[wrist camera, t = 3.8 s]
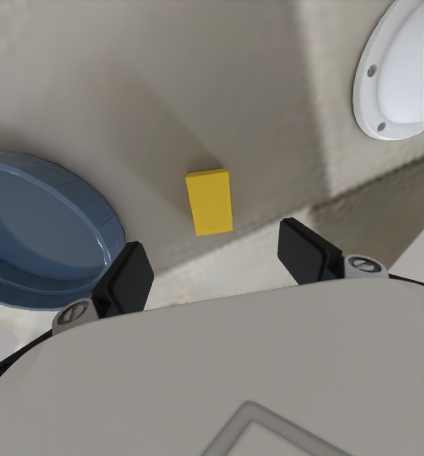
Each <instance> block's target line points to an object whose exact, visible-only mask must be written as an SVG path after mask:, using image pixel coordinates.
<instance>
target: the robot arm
mask: <svg viewBox="0 0 424 456" xmlns="http://www.w3.org/2000/svg"><path fill="white" fill-rule="evenodd" d="M353 109H354V115H355V118H356V120H357V123H358V125H359V126H360V128H361V129H362V131H363V132H364V133H366V134H367V135H368V136H369V137H372V138H375V139H377V140H386V141H387V140H400V139H405V138H409V137H412V136H414V135H416V134H419V133H421V132H423V131H424V0H395V1H394V2H393V3H392V5H391V6H390V7H389V9H388V10H387V11H386V13H385V14H384V15H383V17H382V18H381V19H380V21H379V23H378V24H377V26H376V28H375V29H374V31H373V33H372V34H371V36H370V38H369V40H368V42H367V45H366V47H365V49H364V51H363V53H362V56H361V59H360V62H359V65H358V68H357V71H356V76H355V81H354V86H353ZM342 252H343V251H341V250H340V249H338V248H337V247H335V246H334V245H333V244H331V243H330V242H328V241H327V240H325V239H324V238H322V237H321V236H319V235H318V234H317V233H315V232H314V231H312V230H311V229H309V228H308V227H306V226H305V225H303V224H302V223H300V222H299V221H298V220H296V219H295V218H293V217H291V218H285V219H283V220H282V221H281V222H280V229H279V241H278V253H277V254H278V258H279V260H280V261H281V262H282V263H283V265H284V266H285V267H286V269H287V270H288V271H289V273H290V274H291V275H292V276H293V278H294V279H295V280H296V282H297V283H298V284H299V285H296V286H290V287H283V288H277V289H271V290H265V291H258V292H252V293H246V294H240V295H234V296H228V297H222V298H216V299H210V300H204V301H198V302H192V303H186V304H180V305H174V306H169V307H163V308H157V309H151V310H145V311H143V310H144V307H145V304H146V301H147V298H148V295H149V292H150V289H151V286H152V283H153V280H154V273H153V271H152V268H151V266H150V263H149V261H148V258H147V255H146V253H145V250H144V248H143V245H142V243H139V242H138V241H135V242H128V243H127V244H126V246H125V247H124V248H123V250H122V251H121V252H120V254H119V255H118V256H117V258H116V259H115V260H114V262H113V263H112V264H111V266H110V267H109V268H108V270H107V271H106V272H105V274H104V275H103V276H102V278H101V279H100V280H99V282H98V283H97V284H96V286H95V287H94V288H93V290H92V291H91V293H92V294H93V295H92V296H91V298H81V299H78V300H76V301H74V302H72V303H70V304H68V305H67V306H65V307H64V308H63V309H62V310H61V311H60V312H59V313H58V314H57V315H56V316H55V318H54V319H53V322H52V329H51V330H49V331H48V332H46V333H45V334H43V335H41V336H40V337H38V338H37V339H35V340H34V341H32V342H31V343H29V344H28V345H26V346H24V347H23V348H21V349H20V350H18V351H17V352H15V353H14V354H12V355H11V356H9V357H7V358H6V359H4V360H3V361H1V362H0V456H424V283H422V282H418V281H415V280H411V279H407V278H403V277H399V276H396V275H392V274H388V272H387V269H386V268H385V266H384V265H383V264H382V263H380V262H379V261H377V260H375V259H373V258H370V257H367V256H363V255H347V256H346V257H343V256H342Z"/></svg>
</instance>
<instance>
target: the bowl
mask: <svg viewBox="0 0 424 456" xmlns="http://www.w3.org/2000/svg"><path fill="white" fill-rule="evenodd" d="M124 247H125V241H124V233H123V230H122V228H121V226H120V223H119V221H118V219H117V217H116V215H115V213H114V212H113V211H112V209H111V208H110V207H109V205H108V204H107V203H106V201H105V200H104V199H103V198H102V197H101V196H100V195H99V194H98V193H97V192H96V191H95V190H94V189H92V188H91V187H90V186H89V185H88V184H87V183H85V182H84V181H83V180H81V179H80V178H79V177H77V176H75V175H73V174H72V173H70V172H68V171H67V170H65V169H63V168H61V167H60V166H58V165H56V164H54V163H51V162H48V161H45V160H42V159H40V158H37V157H34V156H31V155H28V154H21V153H14V152H6V151H0V305H3V306H7V307H11V308H17V309H24V310H30V311H60V310H62V309H63V308H64V307H65V306H67V305H68V304H70V303H72V302H74V301H76V300H78V299H81V298H91V296H92V295H93V294H92V293H91V291H92V290H93V288H94V287H95V286H96V284H97V283H98V282H99V280H100V279H101V278H102V276H103V275H104V274H105V272H106V271H107V270H108V268H109V267H110V266H111V264H112V263H113V262H114V260H115V259H116V258H117V256H118V255H119V254H120V252H121V251H122V250H123V248H124Z"/></svg>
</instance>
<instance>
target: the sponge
mask: <svg viewBox="0 0 424 456" xmlns="http://www.w3.org/2000/svg"><path fill="white" fill-rule="evenodd" d="M185 179H186V184H187V189H188V194H189V200H190V205H191V210H192V215H193V220H194V225H195V230H196V235H197V236H200V235H207V234H214V233H221V232H227V231H233V227H232V213H231V198H230V184H229V172H228V171H227V170H226V169H224V168H222V169H215V170H208V171H201V172H194V173H188V174H187V175H186V177H185Z"/></svg>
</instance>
